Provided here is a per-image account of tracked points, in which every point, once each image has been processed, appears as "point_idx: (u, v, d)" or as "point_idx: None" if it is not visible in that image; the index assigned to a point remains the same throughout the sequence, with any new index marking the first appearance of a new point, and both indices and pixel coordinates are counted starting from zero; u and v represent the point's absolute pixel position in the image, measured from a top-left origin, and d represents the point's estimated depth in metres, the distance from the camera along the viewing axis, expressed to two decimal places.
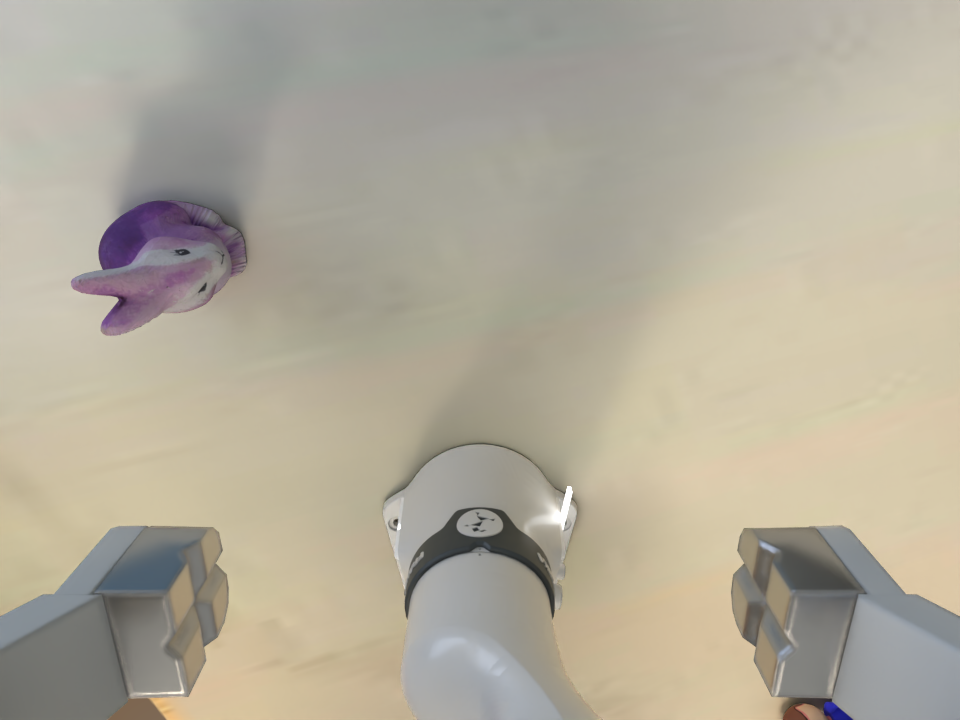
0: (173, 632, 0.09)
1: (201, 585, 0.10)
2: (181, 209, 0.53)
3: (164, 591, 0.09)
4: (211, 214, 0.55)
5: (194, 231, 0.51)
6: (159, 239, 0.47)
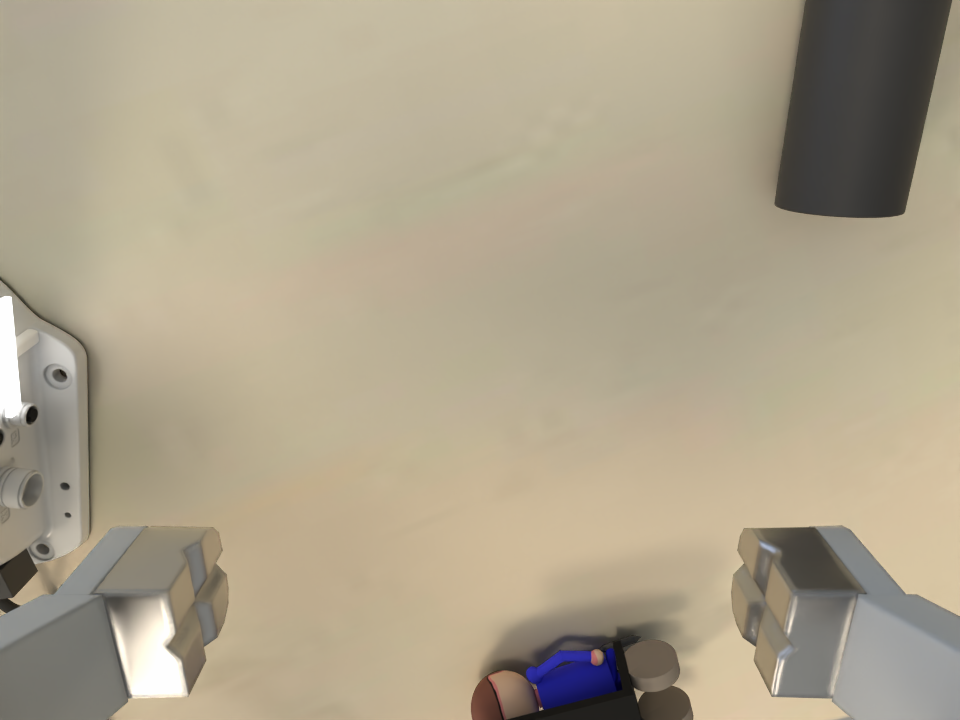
0: (173, 632, 0.09)
1: (201, 585, 0.10)
2: None
3: (164, 590, 0.09)
4: None
5: None
6: None
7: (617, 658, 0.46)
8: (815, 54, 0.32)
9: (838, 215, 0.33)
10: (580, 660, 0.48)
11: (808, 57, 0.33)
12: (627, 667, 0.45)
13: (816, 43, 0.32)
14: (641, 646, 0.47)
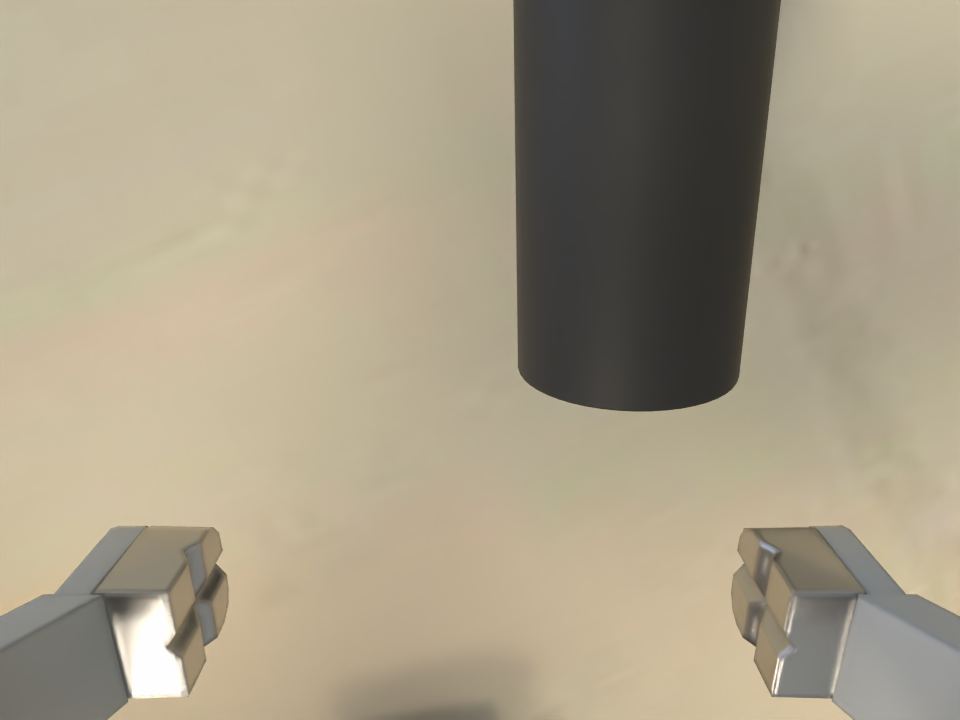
0: (173, 632, 0.09)
1: (201, 585, 0.10)
2: None
3: (164, 591, 0.09)
4: None
5: None
6: None
7: None
8: (524, 96, 0.16)
9: (595, 406, 0.17)
10: None
11: (518, 101, 0.16)
12: None
13: (523, 74, 0.16)
14: None
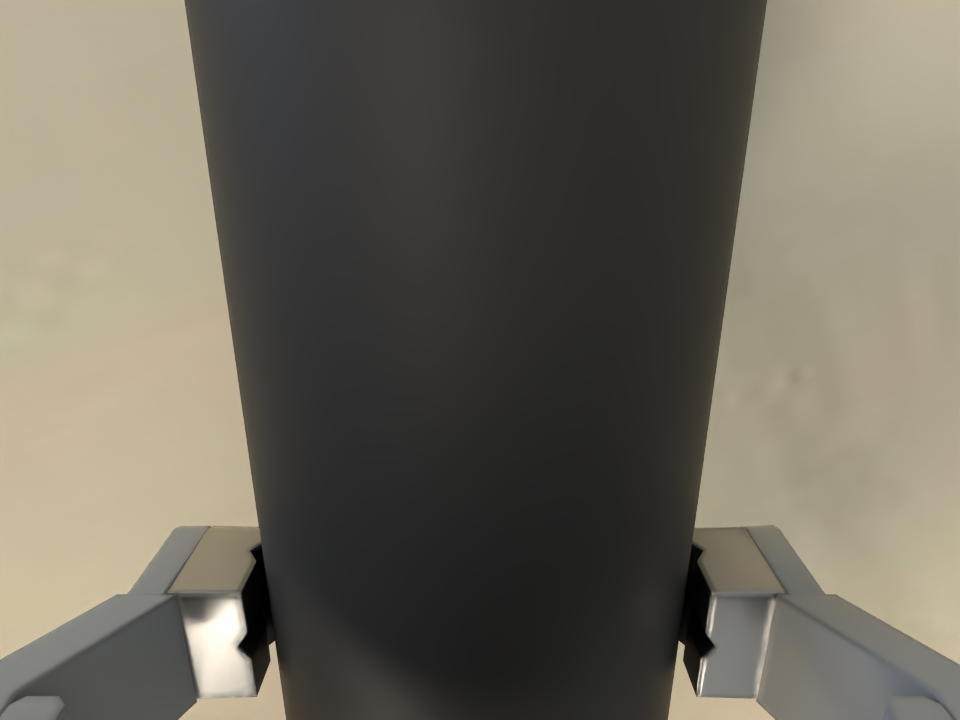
0: (245, 632, 0.09)
1: (265, 585, 0.10)
2: None
3: (237, 591, 0.09)
4: None
5: None
6: None
7: None
8: (229, 309, 0.08)
9: None
10: None
11: None
12: None
13: None
14: None
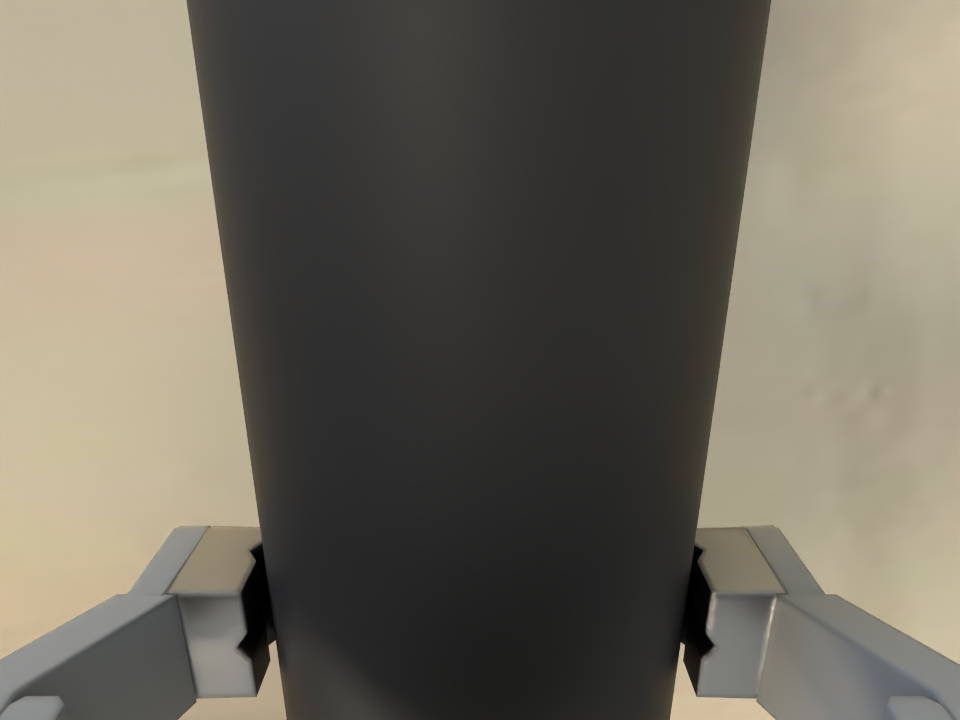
0: (245, 632, 0.09)
1: (265, 585, 0.10)
2: None
3: (237, 591, 0.09)
4: None
5: None
6: None
7: None
8: None
9: None
10: None
11: None
12: None
13: None
14: None
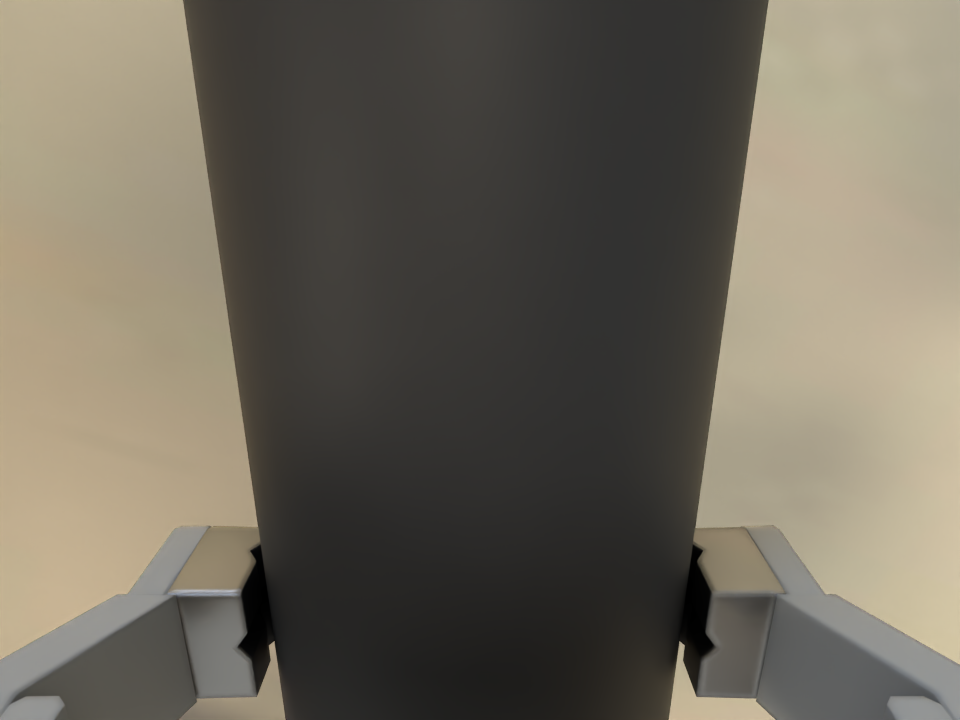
0: (244, 632, 0.09)
1: (265, 585, 0.10)
2: None
3: (237, 591, 0.09)
4: None
5: None
6: None
7: None
8: None
9: None
10: None
11: None
12: None
13: None
14: None
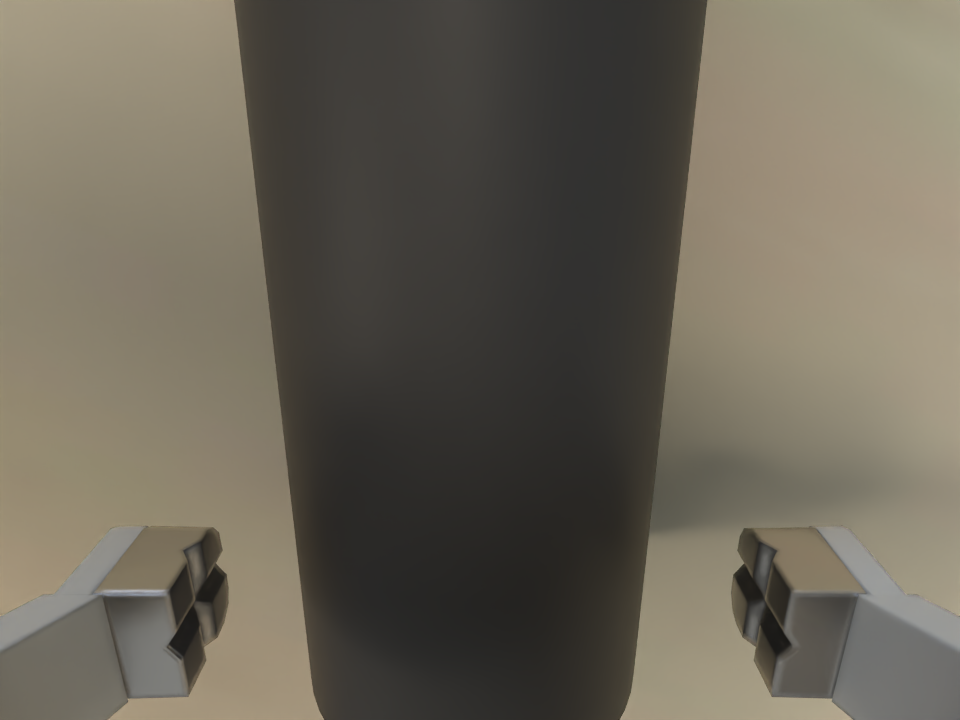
0: (173, 632, 0.09)
1: (201, 585, 0.10)
2: None
3: (164, 591, 0.09)
4: None
5: None
6: None
7: None
8: (268, 298, 0.10)
9: None
10: None
11: None
12: None
13: (264, 264, 0.10)
14: None
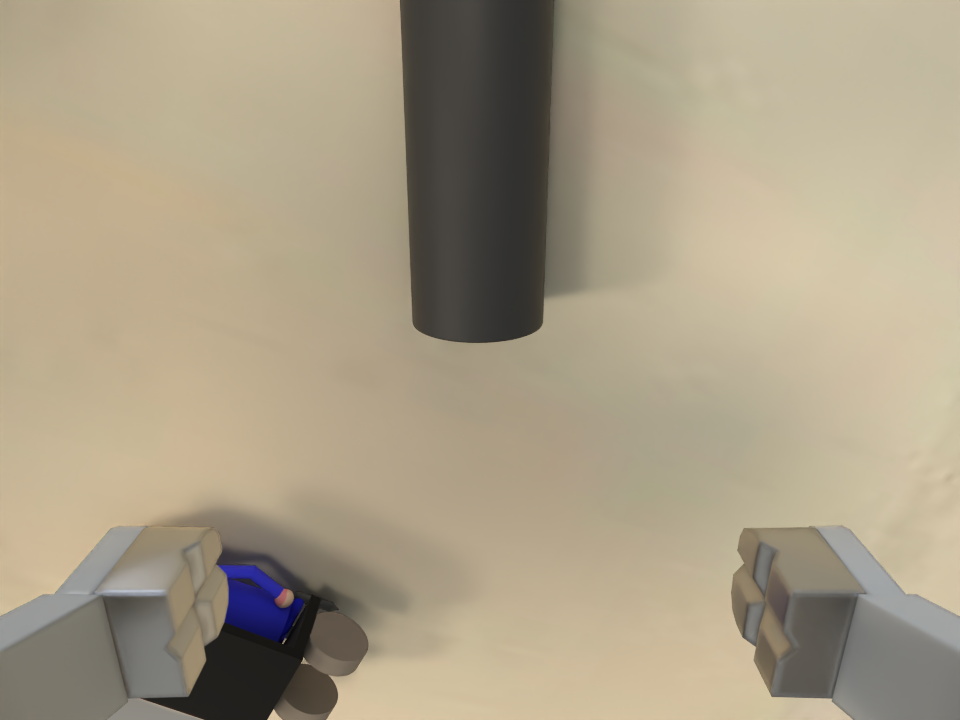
0: (173, 632, 0.09)
1: (201, 585, 0.10)
2: None
3: (164, 591, 0.09)
4: None
5: None
6: None
7: (307, 614, 0.38)
8: (408, 162, 0.28)
9: (448, 339, 0.29)
10: (267, 589, 0.38)
11: (406, 163, 0.29)
12: (311, 629, 0.37)
13: (407, 150, 0.28)
14: (338, 619, 0.39)
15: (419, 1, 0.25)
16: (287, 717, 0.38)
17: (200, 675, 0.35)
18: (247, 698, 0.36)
